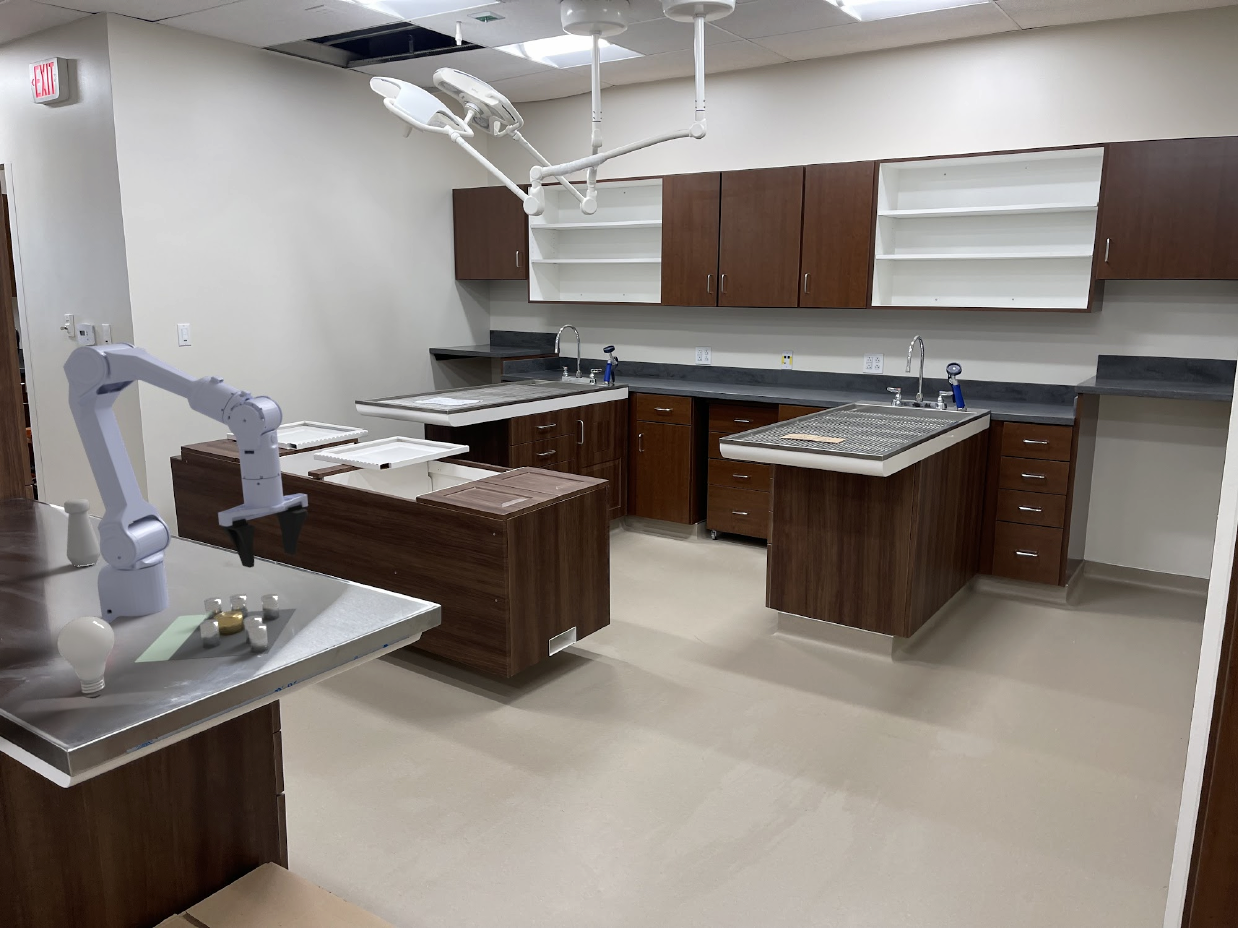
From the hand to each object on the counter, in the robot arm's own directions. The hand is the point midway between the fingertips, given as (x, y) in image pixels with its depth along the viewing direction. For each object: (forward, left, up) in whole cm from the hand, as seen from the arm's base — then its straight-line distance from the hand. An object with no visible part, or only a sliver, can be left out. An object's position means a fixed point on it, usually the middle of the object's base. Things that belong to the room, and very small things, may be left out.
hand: (269, 559), depth 142 cm
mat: (-6, -8, -10) cm, 14 cm away
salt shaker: (-45, +38, -10) cm, 60 cm away
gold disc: (-5, -7, -9) cm, 12 cm away
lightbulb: (-17, -25, -10) cm, 32 cm away
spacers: (-3, -9, -9) cm, 13 cm away
